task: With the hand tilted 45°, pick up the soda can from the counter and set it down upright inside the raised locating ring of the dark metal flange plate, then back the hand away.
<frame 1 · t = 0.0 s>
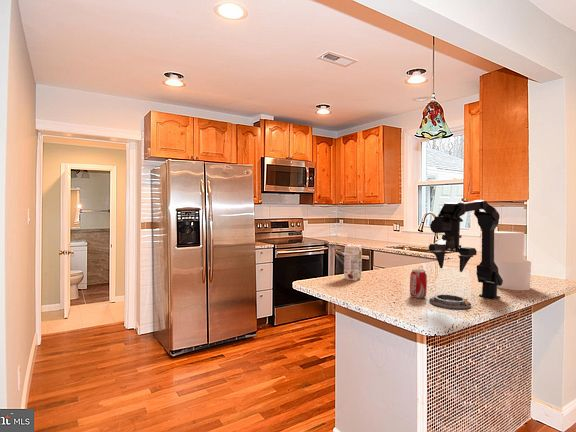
hand: (450, 270, 148), 15 cm above the countertop, tool pointing down, fingers open, 9 cm apart
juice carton: (352, 279, 197), on the countertop
soda can: (417, 297, 161), on the countertop
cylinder: (510, 286, 186), on the countertop
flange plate: (449, 303, 151), on the countertop
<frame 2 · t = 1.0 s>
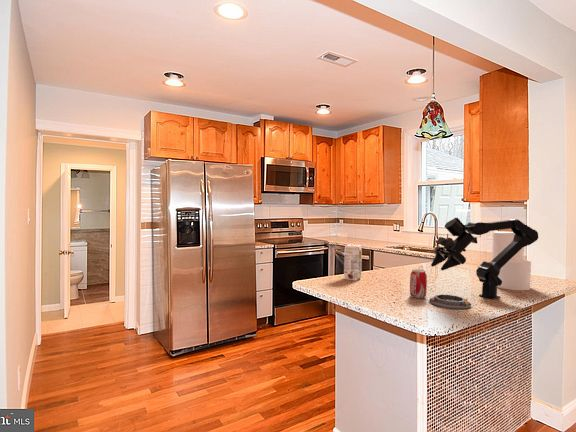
hand: (436, 267, 161), 13 cm above the countertop, tool tilted 45°, fingers open, 9 cm apart
nothing on the countertop moved.
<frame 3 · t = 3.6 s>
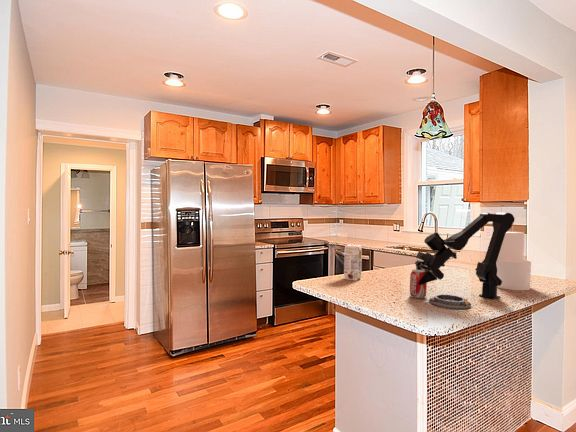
hand: (415, 282, 161), 7 cm above the countertop, tool tilted 45°, fingers closed on soda can, 7 cm apart
soda can: (417, 297, 161), on the countertop, touching gripper
everything else where it was.
when the fingers open (9 cm above the countertop, at t = 7.8 s): soda can drops 1 cm, resting on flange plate.
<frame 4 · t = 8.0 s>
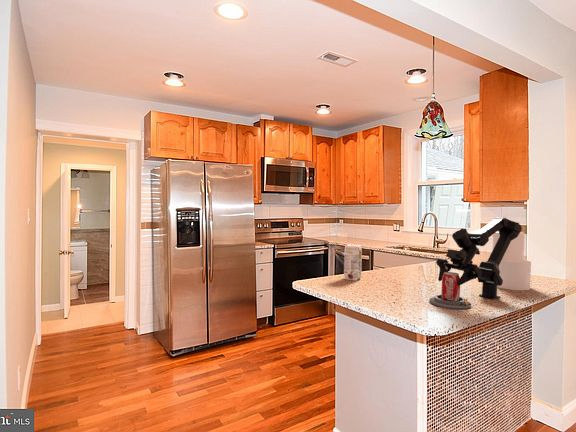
hand: (448, 282, 150), 9 cm above the countertop, tool tilted 45°, fingers open, 9 cm apart
soda can: (450, 301, 150), point 1 cm above the countertop, touching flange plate
everything else where it was.
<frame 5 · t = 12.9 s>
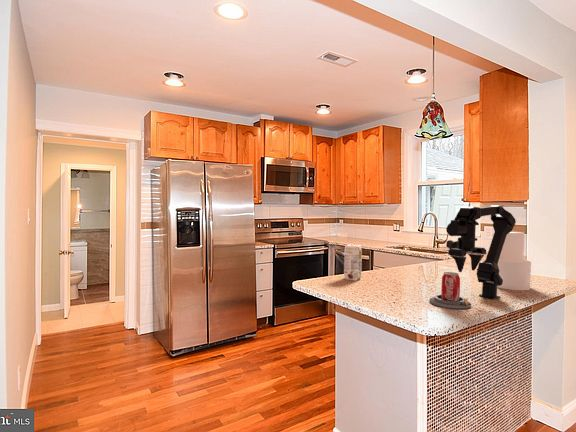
hand: (466, 271, 156), 13 cm above the countertop, tool pointing down, fingers open, 9 cm apart
nothing on the countertop moved.
at the end: soda can 0.1 cm off-centre on the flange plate, point 0.8 cm above the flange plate's base; soda can tilted 0°; the gripper is holding nothing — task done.
